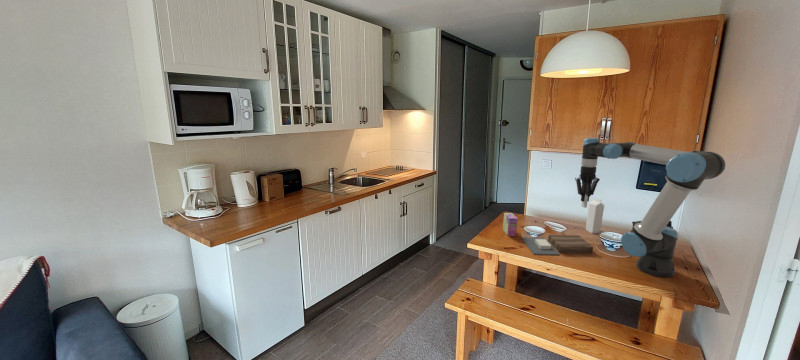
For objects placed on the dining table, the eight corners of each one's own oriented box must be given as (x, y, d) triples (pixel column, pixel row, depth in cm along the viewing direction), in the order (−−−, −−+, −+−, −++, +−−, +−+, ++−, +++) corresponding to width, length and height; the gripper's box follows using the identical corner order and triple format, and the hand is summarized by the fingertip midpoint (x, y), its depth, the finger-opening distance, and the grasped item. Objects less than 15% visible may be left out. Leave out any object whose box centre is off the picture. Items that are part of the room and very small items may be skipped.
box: (516, 235, 206) (517, 218, 203) (507, 235, 206) (508, 218, 203) (511, 229, 216) (512, 212, 213) (502, 229, 216) (503, 212, 214)
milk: (592, 233, 210) (596, 200, 205) (585, 230, 216) (589, 198, 210) (600, 232, 211) (605, 200, 206) (593, 229, 217) (597, 197, 211)
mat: (559, 255, 180) (559, 254, 180) (533, 254, 181) (533, 253, 181) (544, 238, 201) (544, 238, 201) (521, 238, 202) (521, 237, 202)
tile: (540, 245, 186) (540, 248, 187) (551, 245, 186) (550, 249, 186) (535, 239, 195) (534, 242, 195) (545, 239, 194) (545, 242, 195)
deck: (592, 253, 182) (593, 246, 181) (559, 252, 183) (559, 246, 182) (578, 241, 198) (579, 235, 197) (548, 240, 198) (548, 234, 198)
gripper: (596, 164, 185) (591, 204, 190) (573, 165, 185) (569, 205, 190) (604, 167, 177) (599, 208, 182) (580, 167, 178) (576, 208, 182)
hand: (584, 206), depth 186 cm, fingers closed
